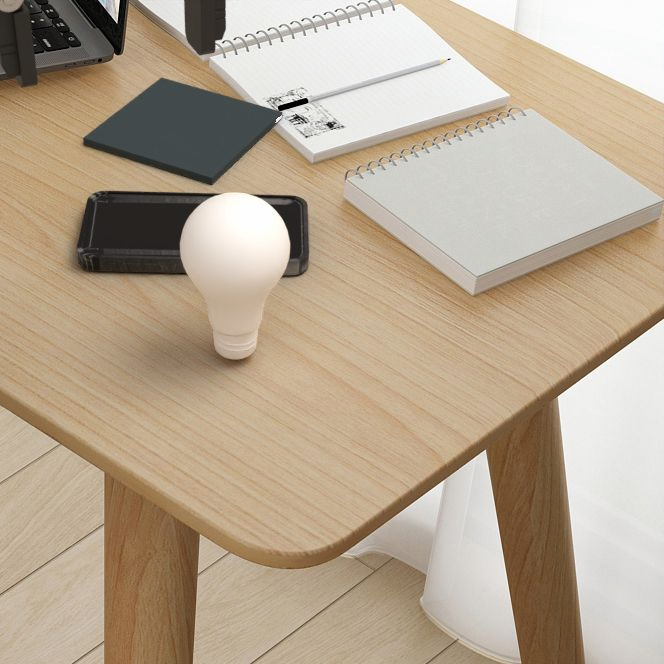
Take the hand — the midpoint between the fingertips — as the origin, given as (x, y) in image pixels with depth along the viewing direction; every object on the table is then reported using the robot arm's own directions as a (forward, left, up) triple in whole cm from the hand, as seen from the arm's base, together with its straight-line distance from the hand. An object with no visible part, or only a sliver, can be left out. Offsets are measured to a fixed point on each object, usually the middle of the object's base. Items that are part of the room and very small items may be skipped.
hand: (114, 63), depth 56 cm
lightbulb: (+3, +5, -21) cm, 22 cm away
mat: (-13, +26, -21) cm, 36 cm away
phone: (-5, +14, -21) cm, 26 cm away
